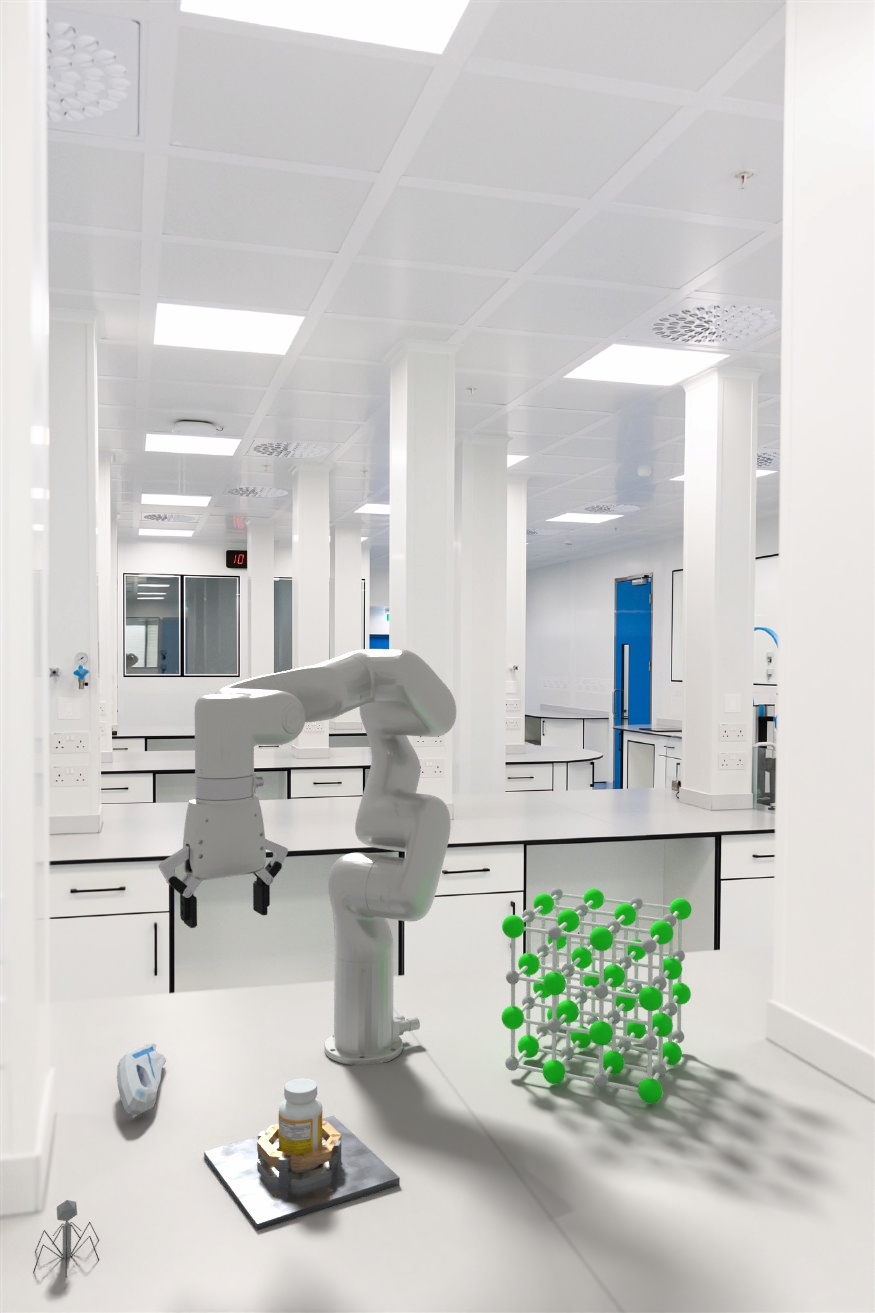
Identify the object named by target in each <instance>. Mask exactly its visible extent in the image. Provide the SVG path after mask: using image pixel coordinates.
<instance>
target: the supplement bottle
mask: <svg viewBox="0 0 875 1313" xmlns="http://www.w3.org/2000/svg"><path fill="white" fill-rule="evenodd" d="M283 1092H284V1094H283V1096H284V1100H282V1101H281V1103H280V1105H279V1106H278V1124H279V1151H280V1152H288V1153H296V1154H302V1153H306V1152H309V1151H313V1150H316V1149H319V1148H322V1119H323V1104H322V1101H320V1099H319V1098H317V1096H318V1084H317V1082H316V1081H315V1080H313V1079H309V1078H302V1077H301V1078H294V1079H291V1080H289V1081H288V1082H286V1083H285V1085H284V1091H283ZM319 1165H320V1164H319ZM319 1165H315V1166H312V1167H309V1168H305V1169H302V1170H297V1169H292V1173H306V1172H309V1171H312V1170H314V1169H316V1168H317V1167H318V1166H319Z"/></svg>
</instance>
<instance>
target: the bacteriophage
mask: <svg viewBox="0 0 875 1313" xmlns="http://www.w3.org/2000/svg"><path fill="white" fill-rule="evenodd" d="M77 1215H78V1206H77V1201H73V1200H68V1199H66V1200H65V1201H63V1202H61V1203H60V1204H58V1205H57V1206H56V1219H57V1220H58V1221H61V1222H65V1223H61V1225H59V1227H58V1228H57V1230H56V1231H55V1232H54V1233H53V1235H52V1236H53V1237H54V1236H55V1234H56V1236H55V1238H54V1240H53V1239H52V1238H51V1237H50V1235H49V1234H48V1232H47V1231H46V1230H45V1229H43V1231H42V1233H41V1236H40V1238H39V1241H38V1244H37V1246H36V1248H35V1250H34V1252H35V1253H36V1252H37V1250H38V1247H39V1245H40V1243H41V1240H42V1239H43V1236H44V1233H45V1235H46V1236H47V1237H48V1239H49V1240H50V1241H51V1245H52V1246H54V1247H55V1248H56V1250H57V1251H58V1252H59V1254H60V1255H61V1256H60V1255H59V1254H58V1253H57V1252H55V1251H53V1250H52V1248H51V1249H50V1248H49V1247H48V1246H46V1245H45V1244H42V1246H41V1249H40V1251H39V1253H38V1257H37V1259H36V1263H35V1266H34V1268H33V1274H34V1273H35V1271H36V1269H37V1265H38V1263H39V1260H40V1257H41V1254H42V1252H43V1248H44V1247H45V1248H46V1249H47V1250H49V1251H50V1252H51V1253H53V1254H55V1256H58V1258H59V1259H61V1260H62V1259H65V1276H67V1261H68V1259H69V1258H73V1256H74V1255H75V1253H77V1252H78V1251H79V1250H80V1248H81V1247H82V1246H83V1245H84V1244H85V1243H86V1241H88V1239H90V1242H91V1245H92V1248H93V1250H94V1252H95V1253H94V1254H95V1256H96V1259H97V1261H100V1258H99V1256H98V1253H97V1250H96V1248H95V1245H94V1242H93V1239H92V1237H91V1235H89V1236H88V1237H87V1238H86V1239H85V1240H84V1241H83V1242H82V1244H81V1245H80V1246H79V1247H78V1248H77V1249H76V1247H77V1246H78V1245H79V1243H80V1241H81V1240H82V1237H83V1235H84V1234H85V1233H86V1230H87V1229H88V1227H89V1226H90V1227H91V1229H92V1232H93V1233H94V1235H95V1237H96V1239H97V1241H100V1239H99V1237H98V1235H97V1233H96V1231H95V1228H94V1226H93V1225H92V1222H91V1221H89V1222H88V1223H87V1225H86V1227H85V1229H84V1230H83V1232H82V1230H81V1228H79V1227H78V1226H77V1225H76V1224H75V1223H73V1222H72V1221H70V1220H72V1219H73V1218H75V1217H76V1216H77ZM69 1221H70V1222H69ZM75 1227H76V1228H77V1229H78V1230H79V1231H80V1232H82V1233H81V1236H80V1235H79V1233H78V1231H77V1230H76V1228H75ZM72 1229H73V1231H74V1232H75V1234H76V1235H77V1237H78V1240H77V1242H76V1244H75V1245H74V1247H73V1248H72ZM61 1231H62V1251H61V1250H60V1249H59V1247H58V1246H57V1245H56V1244H55V1242H56V1240H57V1238H58V1236H59V1234H60V1232H61ZM57 1232H58V1233H57Z"/></svg>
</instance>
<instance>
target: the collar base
mask: <svg viewBox="0 0 875 1313" xmlns="http://www.w3.org/2000/svg"><path fill="white" fill-rule="evenodd" d="M203 1159H204V1160H205V1161H206V1163H207V1164H208V1165H209V1167H210V1168H211V1169H212V1171H213V1172H214V1174H215V1175H216V1176H217V1178H218V1179H219V1180H220V1183H222V1185H223V1186H224V1188H225V1189H226V1190H227V1192H228V1193H229V1194H230V1196H231V1197H232V1198H233V1200H234V1201H235V1203H236V1204H237V1205H238V1206H239V1208H240V1209H241V1210H242V1212H243V1213H244V1215H245V1216H246V1217H247V1219H248V1220H249V1222H250V1223H251V1225H253V1227H254V1228H255V1229H256V1231H261V1230H264V1229H267V1228H270V1227H273V1226H277V1225H280V1224H283V1223H286V1222H289V1221H292V1220H295V1219H298V1218H301V1217H302V1218H303V1217H305V1216H307V1215H312V1214H315V1213H317V1212H321V1211H325V1210H328V1209H330V1208H333V1207H336V1206H339V1205H343V1204H346V1203H350V1202H352V1201H356V1200H359V1199H362V1198H365V1197H368V1196H372V1195H375V1194H377V1193H381V1192H383V1191H387V1190H390V1189H393V1188H394V1189H395V1188H397V1187H400V1181H401V1180H400V1177H399V1175H398V1174H397V1173H395V1172H394V1170H392V1169H391V1168H390V1166H388V1165H387V1164H386V1163H385V1162H384V1161H383V1160H381V1159H380V1158H379V1157H378V1155H376V1154H375V1153H374V1152H373V1151H372V1150H371V1149H370V1148H369V1147H368V1146H367V1145H366V1144H365V1143H363V1141H362V1140H361V1139H360V1138H358V1137H357V1136H356V1135H355V1134H354V1133H353V1132H352V1131H351V1130H350V1129H349V1128H348V1127H346V1126H345V1124H343V1123H342V1122H341V1121H340V1120H339V1119H338V1118H337V1117H336V1116H335V1115H331V1116H327V1117H325V1118H323V1117H322V1148H319V1149H316V1150H313V1151H309V1152H306V1153H302V1154H296V1153H288V1152H280V1151H279V1123H276V1124H273V1125H269V1127H268V1128H267V1129H266V1130H262V1131H260V1133H259V1134H258V1135H257V1136H256V1137H251V1138H247V1139H245V1140H241V1141H237V1142H233V1143H230V1144H226V1145H222V1146H219V1147H216V1148H215V1147H214V1148H212V1149H208V1150H204V1151H203ZM319 1164H320V1165H319ZM315 1165H319V1166H318V1167H317V1168H316V1169H314V1170H312V1171H309V1172H306V1173H292V1169H297V1170H302V1169H305V1168H309V1167H312V1166H315Z"/></svg>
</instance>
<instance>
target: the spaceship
mask: <svg viewBox="0 0 875 1313" xmlns="http://www.w3.org/2000/svg"><path fill="white" fill-rule="evenodd" d="M166 1062H167V1058H166V1056H165V1055H164V1054H162V1053H159V1052H158V1051H157V1044H156V1043H147V1044H144V1045H140V1046H137V1047H134V1048H132V1049H130V1050H129V1051H127V1052H126V1053H125V1054H124V1055H123V1056H122V1057H121V1058H120V1059H119V1062H118V1064H117V1069H116V1081H117V1082H116V1083H117V1089H118V1093H119V1097H120V1099H121V1100H120V1101H121V1103H122V1106H123V1109H124V1110H125V1112H126V1113H128V1114H129V1115H134V1116H137V1115H141V1114H143V1113H145V1112H147V1111H149V1110H151V1109H153V1108H154V1107H155V1103H156V1101H157V1092H158V1089H159V1087H160V1082H161V1077H162V1069H163V1067H164V1065H165V1063H166Z"/></svg>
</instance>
